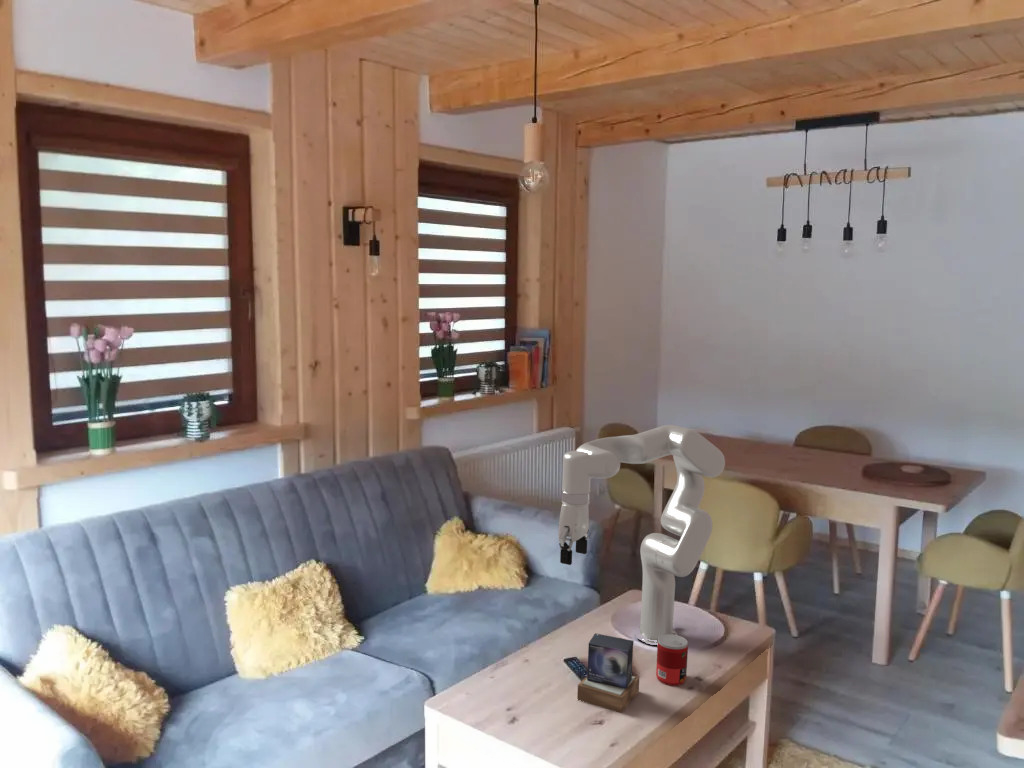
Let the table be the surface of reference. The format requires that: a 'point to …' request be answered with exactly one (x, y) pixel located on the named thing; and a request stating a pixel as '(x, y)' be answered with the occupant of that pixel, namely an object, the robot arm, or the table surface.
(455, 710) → the table surface
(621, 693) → the wooden box
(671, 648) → the canned food
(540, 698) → the table surface
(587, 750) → the table surface
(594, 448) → the robot arm
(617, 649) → the small box
